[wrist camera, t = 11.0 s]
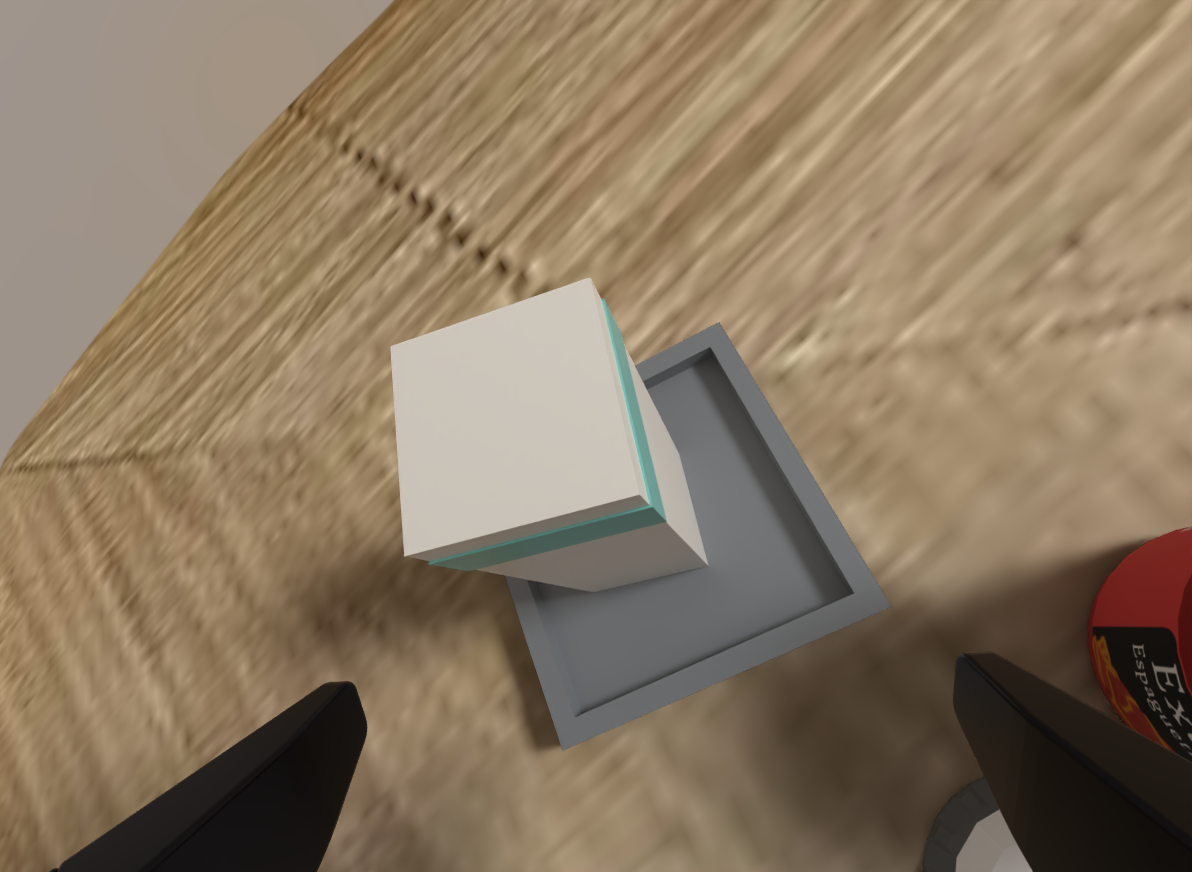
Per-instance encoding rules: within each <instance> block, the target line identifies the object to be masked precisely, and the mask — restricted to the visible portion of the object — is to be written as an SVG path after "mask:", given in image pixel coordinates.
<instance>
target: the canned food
mask: <svg viewBox="0 0 1192 872" xmlns="http://www.w3.org/2000/svg"><path fill="white" fill-rule="evenodd" d="M1088 647H1089V652H1090V656H1091V660H1092V665H1093V669H1094V672H1095V674H1096V676H1097V679H1098V681H1099V683H1100V685H1101V688H1102V690H1103V692H1104V694H1105V696H1106V697H1107V699H1108V700H1109V702H1110V703H1111V705H1112V706H1113V708H1114V709H1115V711H1116V712H1117V713H1118V715H1119V716H1120V718H1121V719H1122V720H1123V721H1124V722H1125V723H1126V725H1127V726H1128V727H1129V728H1131V729H1133V730H1134V731H1136V732H1138V733H1140V734H1142V735H1143V736H1145V737H1147V738H1149V739H1151V740H1152V741H1154V742H1156V743H1158V744H1160V745H1161V746H1163V747H1165V748H1167V749H1169V750H1170V751H1172V752H1174V753H1176V754H1178V755H1179V756H1181V757H1183V758H1185V759H1187V760H1188V761H1190V762H1192V527H1187V528H1183V529H1179V530H1175V531H1172V532H1170V533H1167V534H1165V535H1163V536H1160V537H1158V538H1155V539H1153V540H1150V541H1148V542H1147V543H1145V544H1144V545H1142V546H1141V547H1139V548H1138V549H1136V550H1135V551H1134V552H1132V553H1131V554H1129V555H1128V556H1126V558H1125V559H1124V560H1123V561H1122V562H1121V563H1120V564H1119V565H1118V566H1117V567H1116V568H1115V570H1114V571H1113V572H1112V573H1111V574H1110V575H1109V576H1108V577H1107V578H1106V579H1105V581H1104V582H1103V584H1102V586H1101V588H1100V590H1099V591H1098V593H1097V595H1096V597H1095V599H1094V601H1093V605H1092V609H1091V613H1090V617H1089V621H1088Z"/></svg>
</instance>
